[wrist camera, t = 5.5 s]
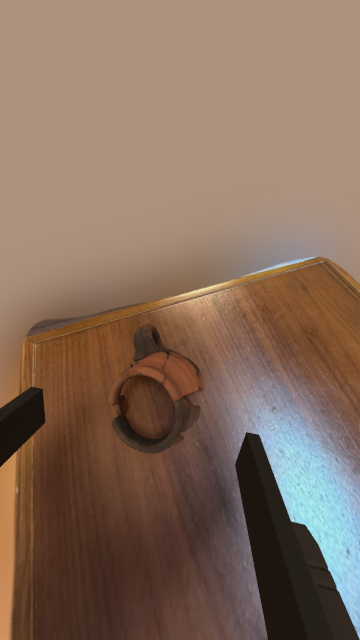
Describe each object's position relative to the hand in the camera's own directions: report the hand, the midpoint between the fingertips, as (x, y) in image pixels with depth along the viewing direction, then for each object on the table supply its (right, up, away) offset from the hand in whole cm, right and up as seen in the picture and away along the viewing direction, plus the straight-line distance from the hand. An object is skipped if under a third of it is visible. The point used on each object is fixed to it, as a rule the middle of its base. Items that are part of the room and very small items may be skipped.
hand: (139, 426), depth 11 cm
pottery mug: (0, -1, +10) cm, 10 cm away
